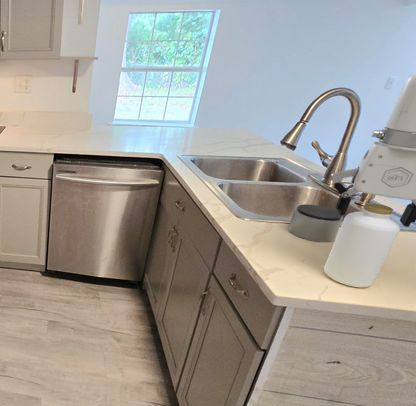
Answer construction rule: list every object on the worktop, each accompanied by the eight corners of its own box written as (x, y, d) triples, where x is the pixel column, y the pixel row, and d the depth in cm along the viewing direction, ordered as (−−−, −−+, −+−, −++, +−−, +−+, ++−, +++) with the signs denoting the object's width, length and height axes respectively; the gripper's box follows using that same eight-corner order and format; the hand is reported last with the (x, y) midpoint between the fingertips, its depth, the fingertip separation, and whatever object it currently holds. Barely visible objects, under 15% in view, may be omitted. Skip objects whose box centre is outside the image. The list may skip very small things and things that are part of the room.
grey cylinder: (339, 235, 101) (349, 212, 98) (327, 246, 96) (337, 222, 93) (295, 222, 109) (302, 201, 106) (282, 232, 104) (289, 209, 101)
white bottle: (372, 278, 83) (407, 206, 76) (371, 294, 78) (409, 219, 71) (324, 264, 89) (352, 196, 81) (320, 279, 83) (350, 207, 76)
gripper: (351, 137, 72) (319, 215, 79) (488, 150, 63) (438, 236, 70) (344, 130, 78) (315, 203, 85) (469, 141, 68) (425, 221, 75)
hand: (371, 218), depth 77 cm, fingers open, 9 cm apart
